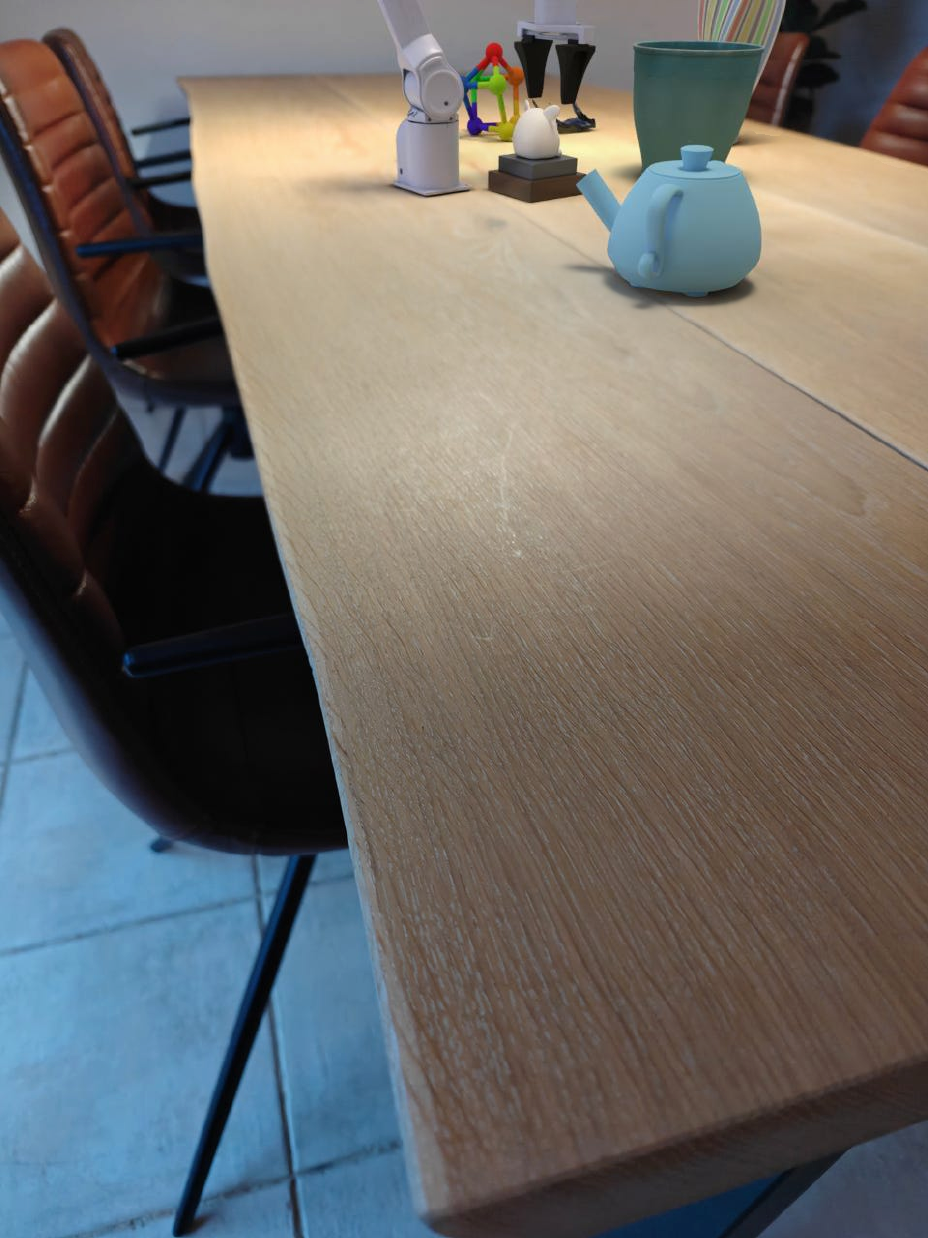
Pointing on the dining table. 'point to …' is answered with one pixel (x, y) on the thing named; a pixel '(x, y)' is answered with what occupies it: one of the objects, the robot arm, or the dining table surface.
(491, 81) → the educational toy
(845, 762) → the dining table surface
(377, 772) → the dining table surface
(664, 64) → the flower pot
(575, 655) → the dining table surface
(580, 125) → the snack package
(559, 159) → the stack
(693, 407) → the dining table surface
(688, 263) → the teapot
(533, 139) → the figurine
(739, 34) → the vase
